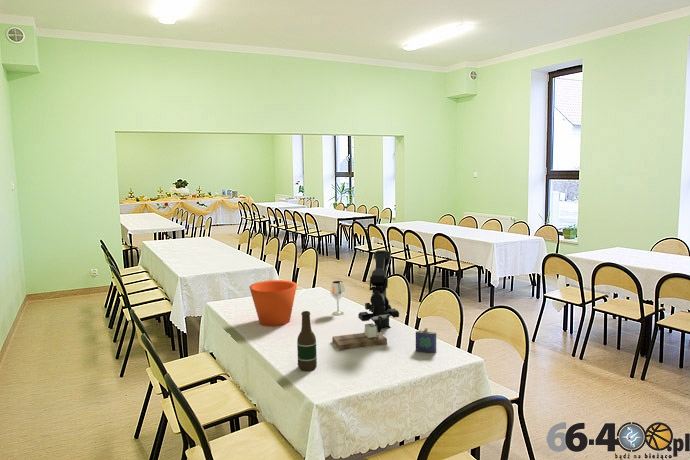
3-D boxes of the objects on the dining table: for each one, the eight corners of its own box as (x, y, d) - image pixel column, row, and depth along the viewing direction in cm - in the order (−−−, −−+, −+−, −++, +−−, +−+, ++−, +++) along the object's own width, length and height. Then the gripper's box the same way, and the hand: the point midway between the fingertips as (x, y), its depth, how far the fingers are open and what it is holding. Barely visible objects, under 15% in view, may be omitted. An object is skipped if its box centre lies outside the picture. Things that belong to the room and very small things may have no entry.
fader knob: (372, 333, 243) (372, 323, 242) (376, 336, 238) (376, 326, 238) (364, 334, 242) (364, 324, 241) (368, 337, 237) (368, 327, 236)
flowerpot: (241, 326, 266) (240, 289, 264) (266, 312, 289) (265, 278, 287) (284, 331, 257) (282, 293, 254) (306, 317, 280) (305, 281, 277)
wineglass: (343, 315, 281) (343, 284, 278) (329, 315, 282) (328, 283, 280) (346, 311, 288) (346, 280, 286) (332, 311, 290) (331, 280, 288)
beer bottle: (298, 364, 215) (296, 309, 212) (316, 363, 216) (315, 308, 212) (298, 372, 207) (296, 315, 204) (317, 371, 208) (315, 314, 205)
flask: (436, 351, 227) (436, 328, 225) (436, 353, 224) (436, 330, 223) (416, 349, 229) (415, 326, 228) (415, 351, 227) (414, 328, 225)
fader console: (377, 335, 248) (377, 330, 247) (387, 344, 236) (387, 338, 236) (332, 341, 241) (332, 336, 241) (339, 350, 230) (339, 344, 229)
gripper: (390, 294, 249) (390, 324, 251) (354, 297, 244) (354, 329, 246) (399, 299, 239) (399, 332, 241) (362, 304, 233) (362, 336, 235)
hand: (379, 332), depth 241 cm, fingers closed
